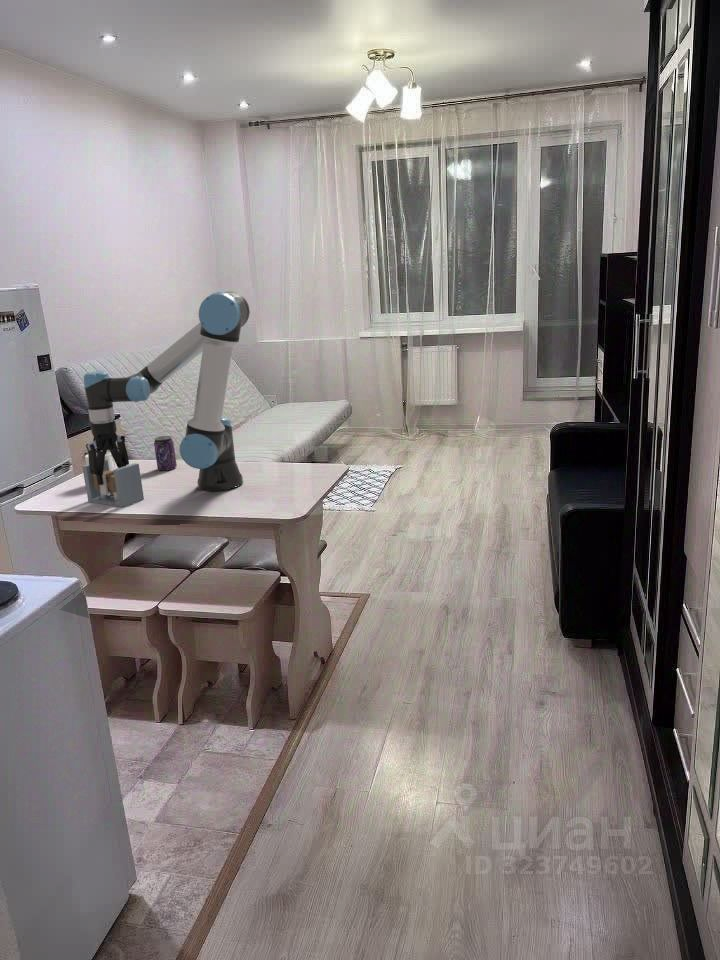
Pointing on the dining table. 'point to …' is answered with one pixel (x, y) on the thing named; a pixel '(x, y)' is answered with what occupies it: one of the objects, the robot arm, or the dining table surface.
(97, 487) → the brown wooden block
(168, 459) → the beverage can
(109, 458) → the mug
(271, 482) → the dining table surface
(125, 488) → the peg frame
